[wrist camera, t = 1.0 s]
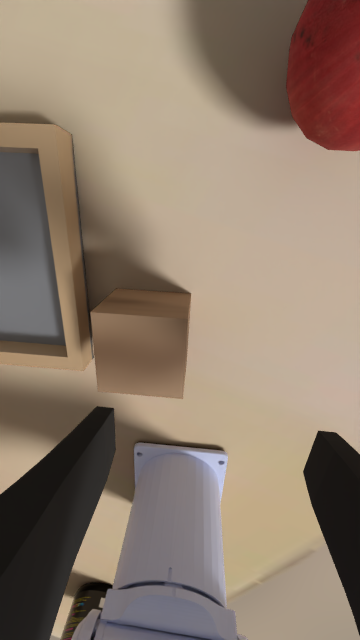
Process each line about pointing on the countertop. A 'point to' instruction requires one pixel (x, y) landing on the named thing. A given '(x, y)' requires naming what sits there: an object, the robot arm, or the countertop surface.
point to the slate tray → (41, 251)
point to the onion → (327, 74)
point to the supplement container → (84, 606)
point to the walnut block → (141, 342)
